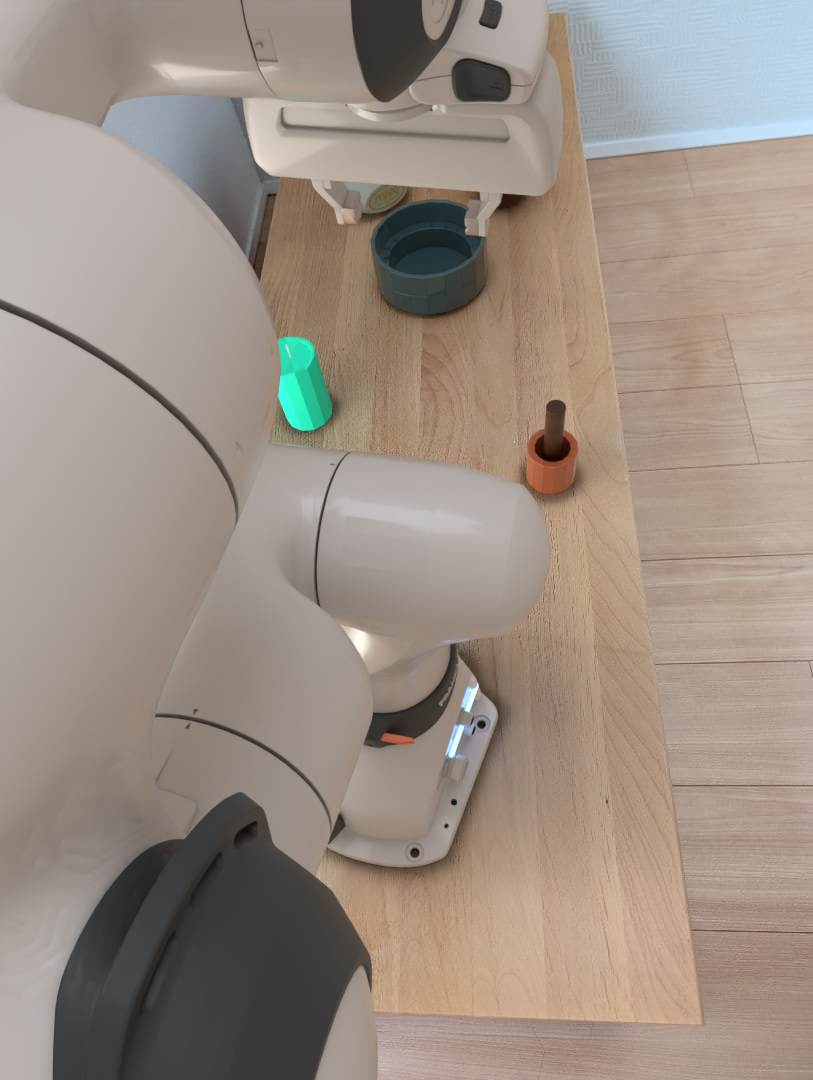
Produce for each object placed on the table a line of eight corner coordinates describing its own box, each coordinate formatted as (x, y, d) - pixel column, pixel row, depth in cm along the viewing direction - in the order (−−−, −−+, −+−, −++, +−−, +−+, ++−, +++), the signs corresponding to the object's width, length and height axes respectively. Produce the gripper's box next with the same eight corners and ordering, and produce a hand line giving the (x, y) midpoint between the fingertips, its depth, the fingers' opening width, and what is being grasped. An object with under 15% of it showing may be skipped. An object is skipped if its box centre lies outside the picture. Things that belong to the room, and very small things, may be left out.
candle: (276, 414, 99) (250, 348, 89) (311, 386, 101) (289, 317, 91) (307, 438, 97) (283, 373, 86) (342, 409, 98) (323, 341, 88)
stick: (558, 482, 89) (564, 415, 78) (540, 480, 89) (544, 413, 79) (560, 468, 89) (567, 400, 79) (542, 466, 90) (547, 398, 80)
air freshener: (391, 171, 121) (382, 109, 113) (420, 197, 117) (413, 135, 109) (331, 201, 119) (317, 140, 111) (358, 229, 115) (346, 168, 107)
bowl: (477, 322, 103) (475, 281, 97) (367, 314, 106) (358, 274, 100) (495, 244, 110) (494, 201, 104) (391, 239, 113) (384, 197, 107)
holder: (571, 500, 88) (575, 470, 83) (522, 495, 89) (523, 464, 84) (576, 461, 91) (581, 430, 85) (529, 456, 92) (530, 425, 87)
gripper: (199, 60, 44) (265, 244, 57) (560, 77, 41) (546, 270, 53) (233, -9, 47) (290, 182, 59) (577, 0, 43) (560, 202, 55)
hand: (413, 224), depth 56 cm, fingers open, 8 cm apart
